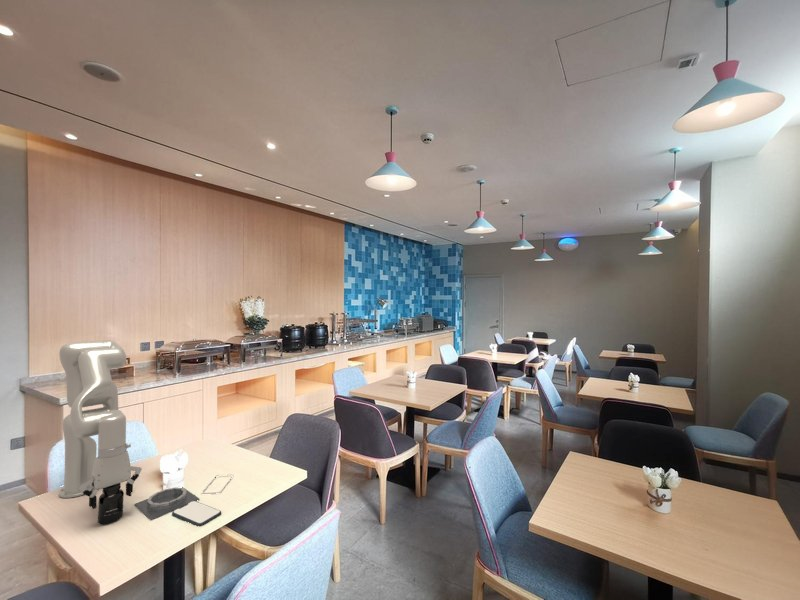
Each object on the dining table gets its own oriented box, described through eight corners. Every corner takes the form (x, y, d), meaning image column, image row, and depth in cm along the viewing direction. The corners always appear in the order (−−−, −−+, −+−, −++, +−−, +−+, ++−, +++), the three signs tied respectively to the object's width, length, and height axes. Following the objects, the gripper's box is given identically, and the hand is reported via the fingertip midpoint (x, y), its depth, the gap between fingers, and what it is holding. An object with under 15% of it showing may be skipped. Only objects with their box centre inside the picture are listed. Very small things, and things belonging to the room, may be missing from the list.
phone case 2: (220, 495, 139) (233, 477, 154) (220, 491, 139) (233, 474, 154) (200, 496, 138) (216, 478, 153) (200, 492, 138) (216, 474, 153)
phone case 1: (223, 515, 125) (193, 504, 132) (223, 511, 126) (194, 499, 132) (199, 529, 117) (169, 516, 124) (199, 524, 118) (170, 512, 124)
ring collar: (134, 505, 131) (134, 498, 131) (181, 487, 144) (181, 481, 144) (150, 520, 121) (150, 512, 122) (199, 500, 134) (199, 493, 134)
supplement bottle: (108, 526, 118) (109, 490, 118) (92, 524, 119) (93, 488, 120) (128, 515, 125) (128, 480, 125) (112, 512, 126) (113, 479, 126)
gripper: (137, 441, 132) (137, 488, 131) (76, 457, 118) (75, 509, 117) (145, 445, 127) (145, 493, 127) (82, 462, 113) (81, 516, 113)
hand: (111, 501), depth 122 cm, fingers open, 9 cm apart
